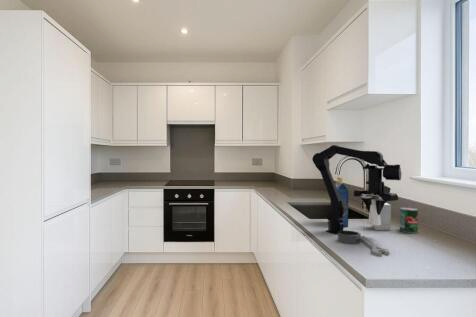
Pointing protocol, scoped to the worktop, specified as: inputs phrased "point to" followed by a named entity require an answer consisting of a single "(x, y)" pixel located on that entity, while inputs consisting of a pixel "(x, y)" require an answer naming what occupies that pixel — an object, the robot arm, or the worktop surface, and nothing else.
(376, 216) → the salt shaker
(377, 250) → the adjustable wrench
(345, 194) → the blue cleaner bottle
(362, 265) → the worktop surface
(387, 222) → the supplement box
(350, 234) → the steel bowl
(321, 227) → the worktop surface
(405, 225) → the canned tomato
